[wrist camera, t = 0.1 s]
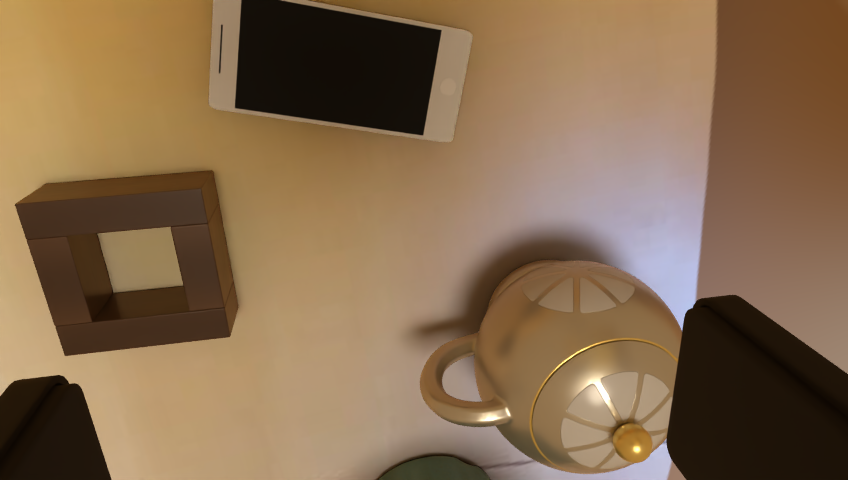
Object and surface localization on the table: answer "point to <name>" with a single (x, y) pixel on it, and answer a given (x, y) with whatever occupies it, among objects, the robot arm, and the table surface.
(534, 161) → the table surface
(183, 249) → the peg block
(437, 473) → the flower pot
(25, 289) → the table surface
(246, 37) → the smartphone
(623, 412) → the teapot
